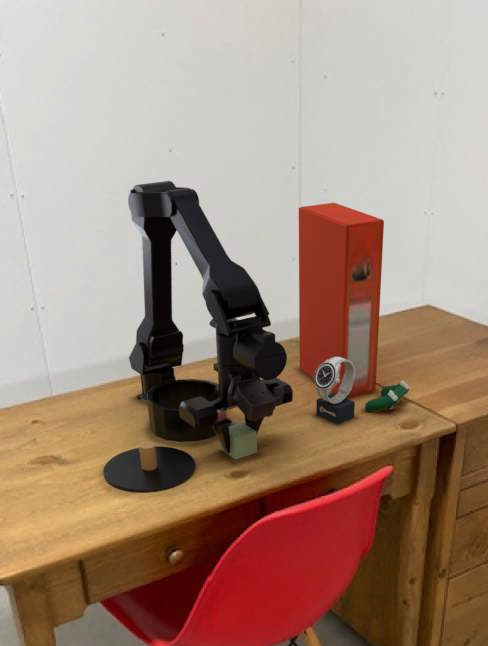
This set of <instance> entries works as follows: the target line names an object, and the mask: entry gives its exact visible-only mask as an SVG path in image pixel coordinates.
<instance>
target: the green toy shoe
mask: <svg viewBox="0 0 488 646" xmlns="http://www.w3.org/2000/svg"><path fill="white" fill-rule="evenodd" d="M409 391H410V387H409V385H408V384H407V383H406V381H404V380H403V379H401V380H400V382H398V383H397V384H392V385H387V386H385V387H382V389H381V390H380V395H381V396H379V397H376V398H372V399H370V400H368V401H367V402H365V404H364V409H365V411H368V412H378V411H384V410H389V411H391V410H392V409H394V408H395V407H394V406H395V405H398V404H399V403H400V402H401V401H400V400H401V399H402V398H404V396H405V395H406V394H408V393H409Z"/></svg>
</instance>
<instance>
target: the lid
mask: <svg viewBox="0 0 488 646" xmlns="http://www.w3.org/2000/svg"><path fill="white" fill-rule="evenodd" d="M195 471H196V461H195V459H194V458H193V456H192V455H190V453H188V452H187V451H185V450H182V449H180V448H179V449H178V448H175V447H172V446H171V447H170V446H162V445H156V443H155V442H154V441H152V440H151V441H150V440H146V441H142V442H140V443H139V444H138V447H136V448H132V449H128V450H125V451H123V452H120V453H118V454H116V455H115V456H112V458H110V459H109V460H108V461H107V462H106V463H105V465H104V466H103V472H102V473H103V477H104V480H105V481H106V482H107V483H108V484H109V485H110V486H112V487H114V488H115V489H118V490H121V491H125V492H130V493H155V492H161V491H166V490H169V489H173V488H175V487H178V486H179V485H181V484H184V483H185V482H187V481H188V480H190V478H191V477H193V475H194V474H195Z"/></svg>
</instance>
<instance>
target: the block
mask: <svg viewBox="0 0 488 646" xmlns="http://www.w3.org/2000/svg"><path fill="white" fill-rule="evenodd" d="M229 435H230V453H227V452H225V450H224V448H223V447H222V445H221V444H220V445H221V446H220V447H221V450H222V451H223V452H224V453H225V454H227V455H228V456H229V457H231V458H233V459H234V460H239V459H241V458H243V457H247V456H251V455H253V454H256V453H258V434H257V431H255V430H253V429H252V428H250V427H249V426H247V425H246V424H245V422H238V423H236V424H232V425H230V426H229Z"/></svg>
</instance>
